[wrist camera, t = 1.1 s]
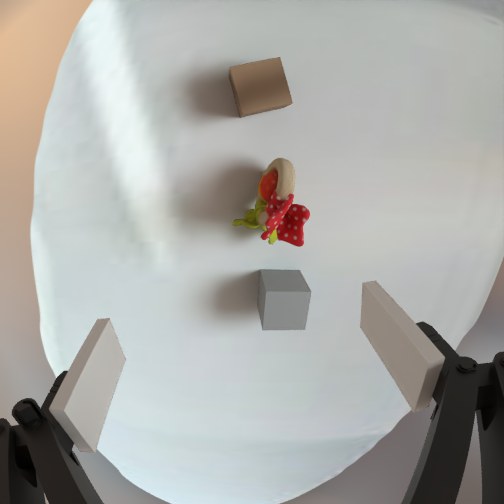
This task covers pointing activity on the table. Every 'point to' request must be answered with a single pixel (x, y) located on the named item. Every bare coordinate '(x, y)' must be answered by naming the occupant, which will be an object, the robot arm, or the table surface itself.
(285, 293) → the grey block
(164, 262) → the table surface
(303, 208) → the bird rattle
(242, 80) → the walnut block
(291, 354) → the table surface
